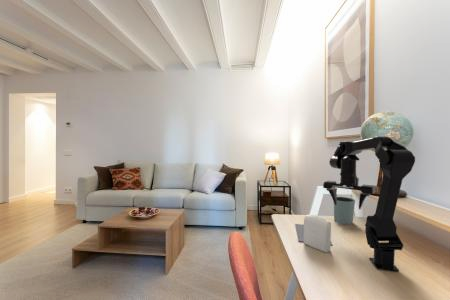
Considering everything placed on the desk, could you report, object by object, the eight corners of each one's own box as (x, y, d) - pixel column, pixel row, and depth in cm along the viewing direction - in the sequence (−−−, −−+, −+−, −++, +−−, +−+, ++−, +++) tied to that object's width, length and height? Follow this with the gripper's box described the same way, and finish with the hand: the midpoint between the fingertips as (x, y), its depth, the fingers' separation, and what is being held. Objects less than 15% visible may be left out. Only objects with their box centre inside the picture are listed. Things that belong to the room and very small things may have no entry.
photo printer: (301, 243, 91) (302, 213, 90) (307, 239, 93) (308, 211, 92) (326, 254, 83) (327, 221, 82) (332, 250, 86) (333, 218, 84)
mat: (332, 245, 89) (332, 244, 89) (298, 241, 93) (298, 241, 93) (323, 227, 109) (323, 226, 109) (295, 224, 112) (295, 223, 112)
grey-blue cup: (351, 219, 120) (351, 197, 120) (357, 226, 111) (358, 202, 110) (330, 217, 123) (331, 196, 122) (334, 224, 113) (335, 200, 113)
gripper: (377, 170, 95) (377, 207, 95) (331, 167, 108) (330, 200, 108) (372, 173, 87) (371, 213, 87) (323, 169, 100) (322, 204, 100)
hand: (347, 207), depth 96 cm, fingers open, 9 cm apart
